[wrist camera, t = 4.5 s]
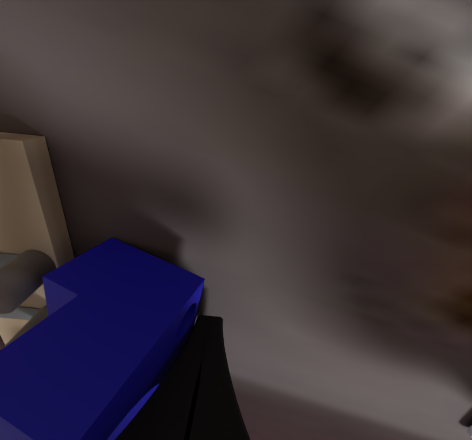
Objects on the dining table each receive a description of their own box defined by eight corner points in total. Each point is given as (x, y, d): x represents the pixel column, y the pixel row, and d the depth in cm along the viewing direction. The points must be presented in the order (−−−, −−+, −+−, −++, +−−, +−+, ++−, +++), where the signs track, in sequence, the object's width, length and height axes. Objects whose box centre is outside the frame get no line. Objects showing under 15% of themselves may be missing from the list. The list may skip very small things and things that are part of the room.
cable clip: (112, 237, 11) (-93, 351, 6) (204, 278, 10) (64, 461, 5) (110, 392, 16) (4, 524, 11) (170, 428, 15) (86, 591, 10)
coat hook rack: (45, 136, 9) (-42, 154, 6) (107, 393, 16) (79, 452, 14) (-66, 125, 9) (-200, 138, 6) (46, 387, 16) (5, 445, 14)
